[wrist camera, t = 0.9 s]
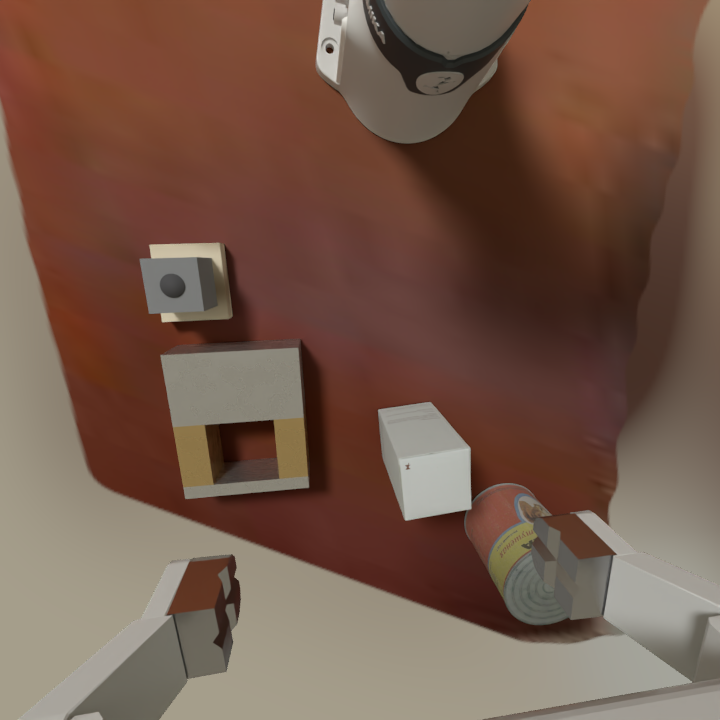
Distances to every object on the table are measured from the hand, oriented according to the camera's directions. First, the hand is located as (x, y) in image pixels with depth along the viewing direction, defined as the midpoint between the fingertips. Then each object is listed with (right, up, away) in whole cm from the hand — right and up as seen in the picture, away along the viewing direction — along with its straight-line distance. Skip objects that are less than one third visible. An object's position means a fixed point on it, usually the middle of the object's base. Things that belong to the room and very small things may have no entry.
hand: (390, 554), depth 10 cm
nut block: (-19, +13, +29) cm, 37 cm away
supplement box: (+5, -4, +39) cm, 40 cm away
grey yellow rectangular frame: (-15, 0, +36) cm, 38 cm away
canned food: (+20, -18, +44) cm, 51 cm away
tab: (-19, +14, +31) cm, 39 cm away
